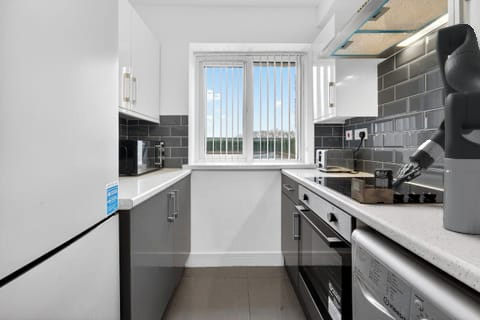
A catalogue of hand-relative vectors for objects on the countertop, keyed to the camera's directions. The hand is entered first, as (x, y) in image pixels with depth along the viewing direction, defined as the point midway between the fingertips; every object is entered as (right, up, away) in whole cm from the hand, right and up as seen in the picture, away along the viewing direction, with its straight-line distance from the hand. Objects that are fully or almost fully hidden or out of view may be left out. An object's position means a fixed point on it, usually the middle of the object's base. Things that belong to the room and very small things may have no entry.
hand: (392, 187), depth 117 cm
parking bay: (-8, -5, 0) cm, 9 cm away
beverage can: (-4, -5, 0) cm, 6 cm away
